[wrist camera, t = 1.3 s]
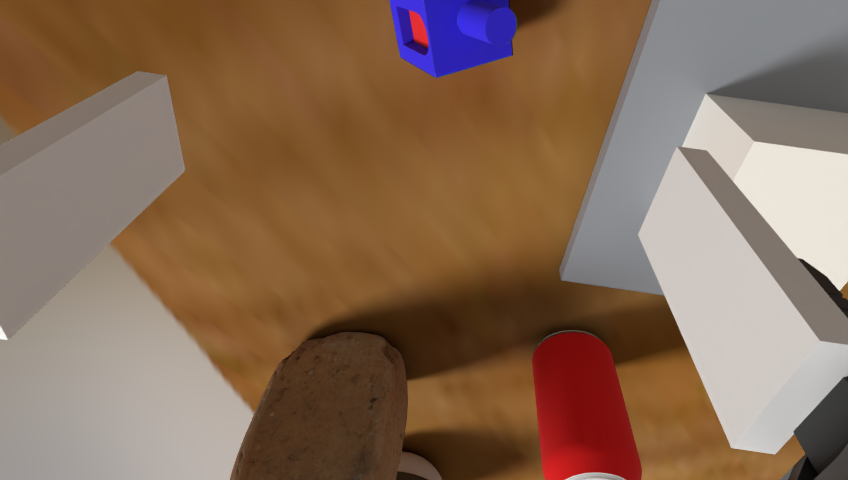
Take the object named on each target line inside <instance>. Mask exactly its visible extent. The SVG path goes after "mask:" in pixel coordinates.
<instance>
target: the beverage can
mask: <svg viewBox="0 0 848 480" xmlns="http://www.w3.org/2000/svg"><path fill="white" fill-rule="evenodd" d="M532 365H533V375H534V386H535V396H536V406H537V417H538V427H539V438H540V448H541V458H542V469H543V474H544V477H545V480H641V476H642V468H641V463H640V459H639V455H638V451H637V448H636V444H635V440H634V436H633V433H632V429H631V425H630V421H629V418H628V414H627V410H626V406H625V402H624V399H623V395H622V391H621V387H620V384H619V380H618V376H617V372H616V369H615V365H614V361H613V357H612V354H611V351H610V349H609V348H608V347H607V345H606V344H605V343H604V342H603V341H602V340H601V339H600V338H598V337H597V336H595V335H593V334H591V333H588V332H584V331H578V330H566V331H560V332H557V333H554V334H551V335H549V336H547V337H546V338H544V339H543V340H542V341H541V342H540V343H539V344H538V345H537V347H536V349H535V351H534V354H533V359H532Z"/></svg>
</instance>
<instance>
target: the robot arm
mask: <svg viewBox="0 0 848 480" xmlns="http://www.w3.org/2000/svg"><path fill="white" fill-rule="evenodd" d="M184 171H185V167H184V162H183V157H182V152H181V147H180V141H179V136H178V131H177V126H176V121H175V116H174V111H173V106H172V101H171V96H170V91H169V85H168V80H167V75H160V74H153V73H146V72H138V71H137V72H135V73H133V74H131V75H130V76H128V77H126V78H124V79H122V80H120V81H119V82H117V83H115V84H113V85H111V86H109V87H107V88H106V89H104V90H102V91H100V92H98V93H96V94H94V95H93V96H91V97H89V98H87V99H85V100H83V101H82V102H80V103H78V104H76V105H74V106H72V107H70V108H69V109H67V110H65V111H63V112H61V113H59V114H57V115H56V116H54V117H52V118H50V119H48V120H46V121H45V122H43V123H41V124H39V125H37V126H35V127H33V128H32V129H30V130H28V131H26V132H24V133H22V134H20V135H19V136H17V137H15V138H13V139H11V140H10V141H7V142H6V143H4V144H2V145H0V339H4V340H9V339H10V338H11V337H12V336H13V335H14V334H15V333H16V332H17V331H18V330H19V329H20V328H21V327H22V326H24V325H25V324H26V323H27V322H28V321H29V320H30V319H31V318H32V317H33V316H34V315H35V314H36V313H37V312H38V311H39V310H40V309H41V308H42V307H43V306H44V305H45V304H46V303H47V302H49V300H51V299H52V298H53V296H55V295H56V294H57V293H58V292H59V291H60V290H61V289H62V288H63V287H64V286H65V285H66V284H67V283H68V282H69V281H70V280H71V279H72V278H74V277H75V275H77V274H78V273H79V272H80V271H81V270H82V269H83V268H84V267H85V266H86V265H87V264H88V263H89V262H90V261H91V260H92V259H93V258H94V257H95V256H97V255H98V254H99V252H101V251H102V250H103V249H104V248H105V247H106V246H107V245H108V244H109V243H110V242H111V241H112V240H113V239H114V238H115V237H116V236H117V235H118V234H119V233H120V232H122V231H123V230H124V229H125V228H126V227H127V226H128V225H129V224H130V223H131V222H132V221H133V220H134V219H135V218H136V217H137V216H138V215H139V214H140V213H141V212H142V211H143V210H144V209H146V208H147V207H148V206H149V205H150V204H151V203H152V202H153V201H154V200H155V199H156V198H157V197H158V196H159V195H160V194H161V193H162V192H163V191H164V190H165V189H166V188H167V187H168V186H170V185H171V184H172V183H173V182H174V181H175V180H176V179H177V178H178V177H179V176H180V175H181V174H182V173H183V172H184ZM638 236H639V238H640V241H641V243H642V245H643V247H644V250H645V252H646V254H647V257H648V259H649V261H650V263H651V266H652V268H653V270H654V273H655V275H656V277H657V279H658V282H659V284H660V286H661V288H662V291H663V293H664V295H665V298H666V300H667V302H668V304H669V307H670V309H671V311H672V313H673V316H674V318H675V320H676V323H677V325H678V327H679V329H680V332H681V334H682V336H683V338H684V341H685V343H686V345H687V348H688V350H689V352H690V354H691V357H692V359H693V361H694V364H695V366H696V368H697V370H698V373H699V375H700V377H701V379H702V382H703V384H704V386H705V389H706V391H707V393H708V395H709V398H710V400H711V402H712V404H713V407H714V409H715V411H716V414H717V416H718V418H719V420H720V423H721V425H722V427H723V429H724V432H725V434H726V436H727V439H728V441H729V443H730V445H731V448H736V449H742V450H749V451H756V452H762V453H769V454H776V453H777V452H778V451H779V449H780V448H781V447H782V446H783V445H784V444H785V443H786V442H787V441H788V440H789V439H790V438H791V437H792V435H793V434H795V436H796V437H797V439H798V441H799V443H800V444H801V446H802V448H803V450H804V451H805V453H806V454H805V455H804V456H803V457H802V458H801V459H800V460H799V461H798V462H797V463H796V464H795V465H794V466H793V467H792V468H791V469H790V470H789V471H788V472H787V473H786V474H785V475H784V476H783V477H782V478H781V479H780V480H848V300H847V299H846V298H842V293H841V292H840V291H839V290H838V289H837V288H836V287H835V285H834V284H833V283H832V282H831V281H830V280H829V279H828V277H827V276H825V275H824V274H823V273H821V272H820V271H819V270H817V269H816V268H814V267H813V266H812V265H810V264H809V263H807V262H806V261H805V260H803V259H799V258H797V257H796V256H795V255H794V254H793V252H792V251H791V250H790V249H789V248H788V246H787V245H786V244H785V243H784V242H783V240H782V239H781V238H780V237H779V236H778V234H777V233H776V232H775V231H774V230H773V229H772V227H771V226H770V225H769V224H768V223H767V221H766V220H765V219H764V218H763V217H762V215H761V214H760V213H759V212H758V211H757V209H756V208H755V207H754V206H753V205H752V203H751V202H750V201H749V200H748V199H747V198H746V196H745V195H744V194H743V193H742V192H741V190H740V189H739V188H738V187H737V186H736V184H735V183H734V182H733V181H732V180H731V178H730V177H729V176H728V175H727V174H726V172H725V171H724V170H723V169H722V168H721V166H720V165H719V164H718V163H717V162H716V161H715V159H714V158H713V157H712V156H711V155H710V153H709V152H708V151H707V150H700V149H693V148H686V147H679V146H677V147H676V149H675V151H674V154H673V156H672V158H671V160H670V163H669V165H668V167H667V169H666V172H665V174H664V176H663V179H662V181H661V183H660V185H659V188H658V190H657V192H656V195H655V197H654V199H653V201H652V204H651V206H650V208H649V211H648V213H647V215H646V217H645V220H644V222H643V224H642V227H641V229H640V231H639V233H638Z"/></svg>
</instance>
